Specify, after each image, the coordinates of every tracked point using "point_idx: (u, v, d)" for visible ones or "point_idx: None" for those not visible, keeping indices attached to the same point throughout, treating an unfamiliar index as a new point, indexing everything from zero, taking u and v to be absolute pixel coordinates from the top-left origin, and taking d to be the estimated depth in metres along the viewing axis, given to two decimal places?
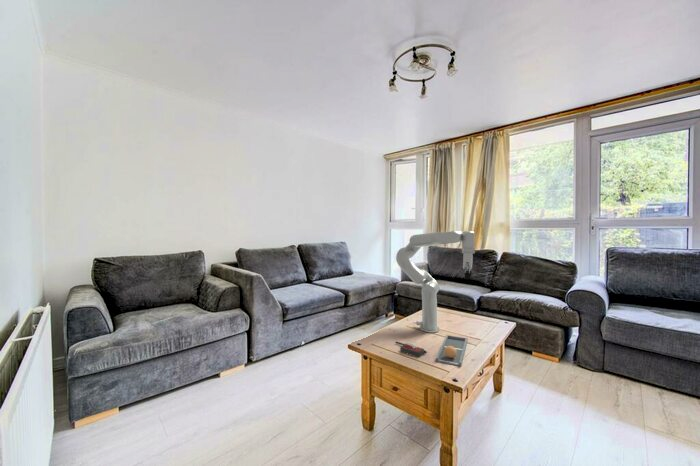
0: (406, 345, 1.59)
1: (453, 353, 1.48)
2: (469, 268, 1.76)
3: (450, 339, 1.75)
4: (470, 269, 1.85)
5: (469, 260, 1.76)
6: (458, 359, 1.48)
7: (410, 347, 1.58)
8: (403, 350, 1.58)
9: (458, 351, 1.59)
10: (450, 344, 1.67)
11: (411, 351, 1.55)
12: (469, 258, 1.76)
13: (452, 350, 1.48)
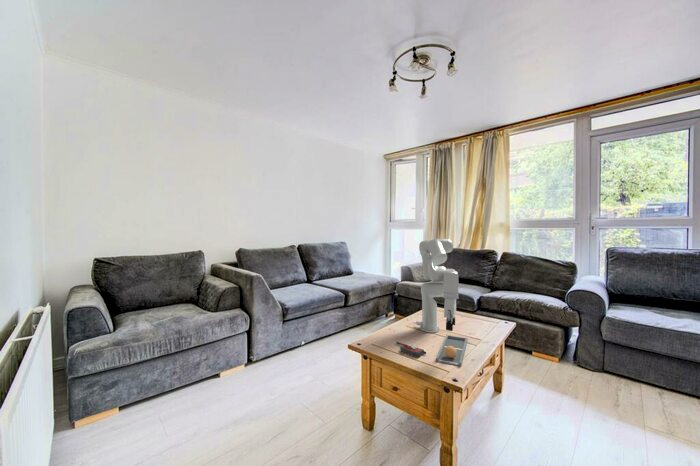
0: (406, 345, 1.59)
1: (453, 353, 1.48)
2: (451, 317, 1.46)
3: (450, 339, 1.75)
4: (453, 316, 1.54)
5: (451, 308, 1.45)
6: (458, 359, 1.48)
7: (410, 348, 1.57)
8: (403, 350, 1.57)
9: (458, 351, 1.59)
10: (450, 344, 1.67)
11: (411, 352, 1.54)
12: (451, 305, 1.45)
13: (452, 350, 1.48)
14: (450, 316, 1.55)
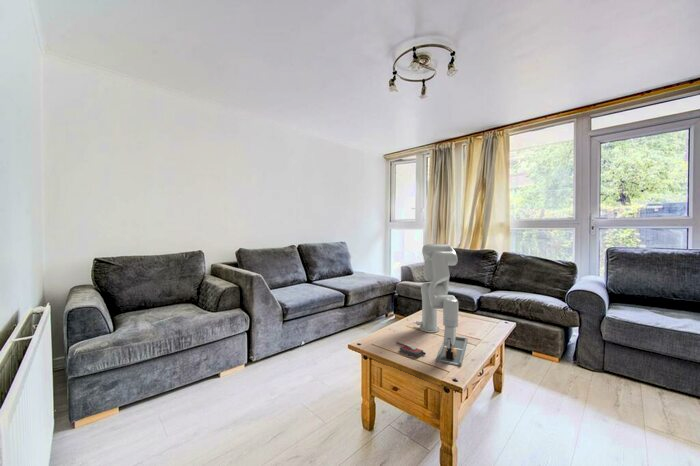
0: (405, 346, 1.58)
1: (453, 353, 1.48)
2: (451, 346, 1.47)
3: None
4: (453, 345, 1.53)
5: (451, 336, 1.46)
6: (458, 359, 1.48)
7: (409, 348, 1.57)
8: (402, 351, 1.57)
9: (458, 351, 1.59)
10: None
11: (410, 352, 1.54)
12: (451, 334, 1.46)
13: (452, 350, 1.48)
14: (449, 345, 1.54)
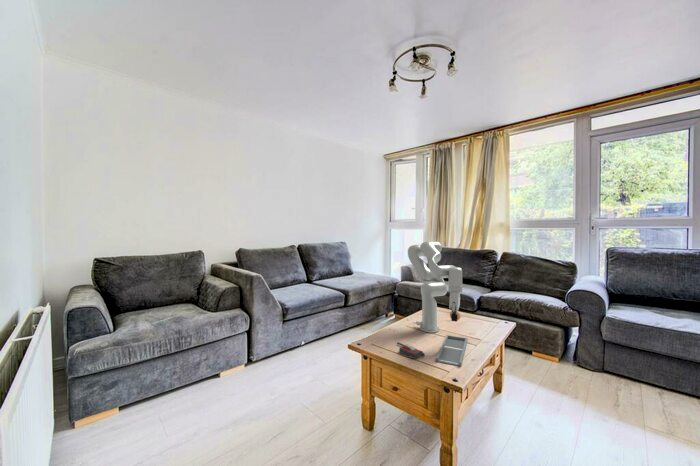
0: (405, 346, 1.58)
1: (458, 316, 1.64)
2: (456, 309, 1.63)
3: (450, 339, 1.75)
4: (457, 310, 1.69)
5: (456, 300, 1.62)
6: (458, 359, 1.48)
7: (408, 349, 1.56)
8: (401, 351, 1.57)
9: (458, 351, 1.59)
10: (450, 344, 1.67)
11: (409, 353, 1.53)
12: (456, 298, 1.62)
13: (457, 313, 1.65)
14: (454, 309, 1.70)
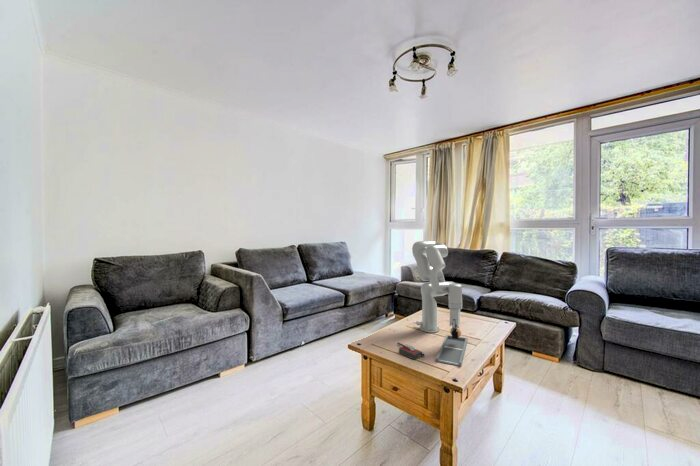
0: (404, 346, 1.57)
1: (458, 333, 1.64)
2: (456, 327, 1.63)
3: (450, 339, 1.75)
4: (458, 327, 1.69)
5: (456, 317, 1.62)
6: (458, 359, 1.48)
7: (408, 349, 1.56)
8: (401, 351, 1.57)
9: (458, 351, 1.59)
10: (450, 344, 1.67)
11: (408, 353, 1.53)
12: (456, 315, 1.62)
13: (457, 330, 1.64)
14: (454, 326, 1.70)
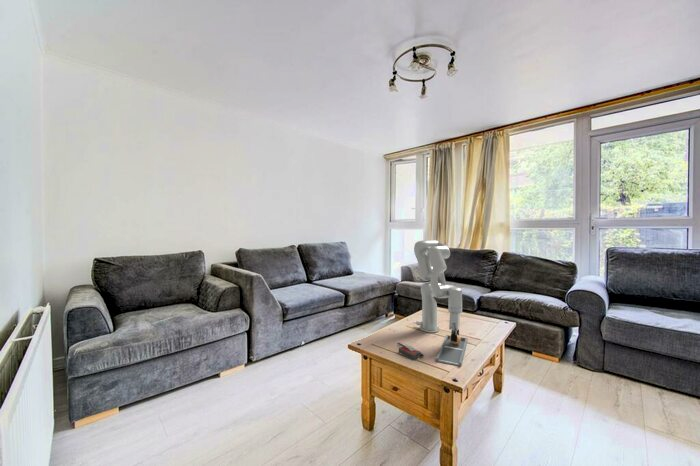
0: (404, 347, 1.57)
1: (457, 340, 1.65)
2: (456, 330, 1.63)
3: None
4: None
5: (456, 321, 1.62)
6: (458, 359, 1.48)
7: (407, 349, 1.55)
8: (400, 351, 1.56)
9: (458, 351, 1.59)
10: (450, 344, 1.67)
11: (407, 353, 1.52)
12: (456, 319, 1.63)
13: (457, 338, 1.65)
14: None
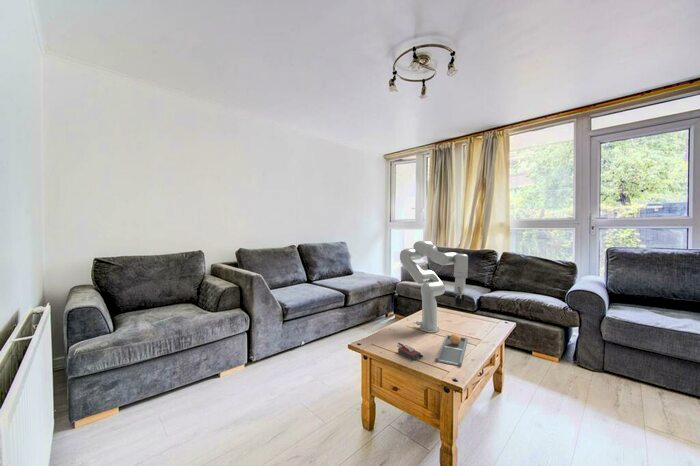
0: (403, 347, 1.57)
1: (458, 340, 1.65)
2: (460, 293, 1.68)
3: None
4: (463, 293, 1.76)
5: (460, 285, 1.67)
6: (458, 359, 1.48)
7: (407, 349, 1.55)
8: (399, 351, 1.56)
9: (458, 351, 1.59)
10: (450, 344, 1.67)
11: (406, 354, 1.52)
12: (461, 283, 1.68)
13: (457, 338, 1.65)
14: None
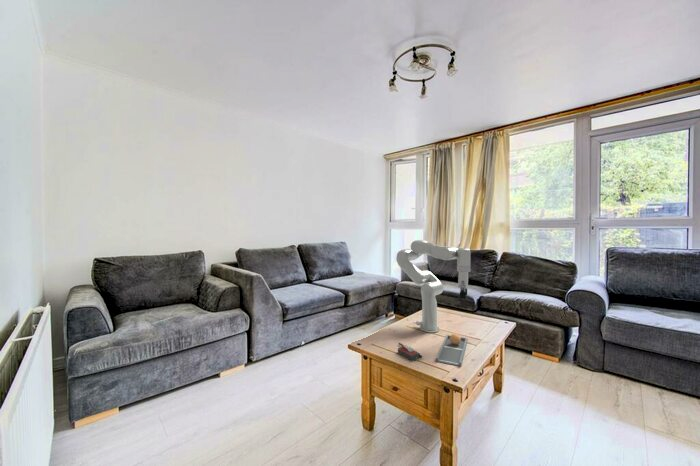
0: (403, 347, 1.56)
1: (458, 340, 1.65)
2: (464, 287, 1.70)
3: None
4: (466, 287, 1.79)
5: (464, 279, 1.70)
6: (458, 359, 1.48)
7: (406, 350, 1.55)
8: (399, 352, 1.56)
9: (458, 351, 1.59)
10: (450, 344, 1.67)
11: (405, 354, 1.52)
12: (464, 277, 1.70)
13: (457, 338, 1.65)
14: None
